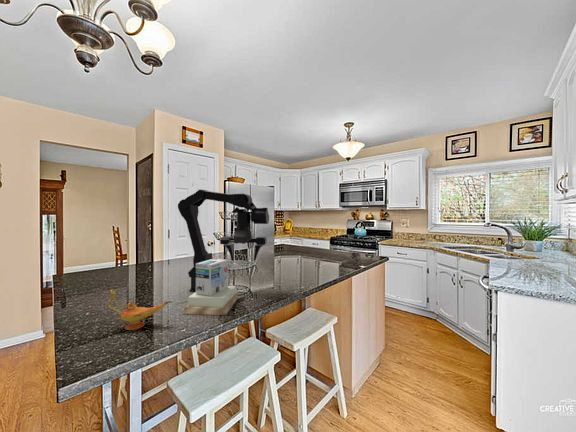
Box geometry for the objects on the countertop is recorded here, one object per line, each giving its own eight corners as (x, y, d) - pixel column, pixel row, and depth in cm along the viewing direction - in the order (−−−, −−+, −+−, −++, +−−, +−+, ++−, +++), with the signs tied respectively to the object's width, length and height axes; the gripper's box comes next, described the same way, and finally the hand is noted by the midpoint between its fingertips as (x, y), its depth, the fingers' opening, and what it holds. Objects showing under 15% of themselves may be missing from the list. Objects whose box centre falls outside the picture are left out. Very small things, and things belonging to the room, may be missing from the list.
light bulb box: (211, 296, 86) (211, 264, 86) (194, 294, 89) (194, 263, 89) (228, 287, 97) (228, 259, 96) (213, 285, 99) (213, 257, 99)
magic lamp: (169, 328, 74) (169, 291, 74) (101, 333, 72) (100, 293, 71) (175, 318, 81) (175, 284, 81) (113, 322, 78) (113, 286, 78)
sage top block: (188, 305, 86) (188, 297, 86) (205, 292, 100) (205, 284, 100) (223, 307, 85) (223, 298, 85) (235, 293, 99) (235, 285, 99)
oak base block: (184, 316, 85) (184, 307, 85) (202, 299, 101) (202, 291, 101) (226, 317, 84) (226, 308, 84) (237, 300, 100) (237, 292, 100)
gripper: (215, 224, 100) (215, 264, 100) (263, 225, 99) (263, 265, 99) (224, 223, 111) (224, 259, 111) (267, 223, 110) (267, 259, 110)
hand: (244, 261), depth 108 cm, fingers open, 9 cm apart
